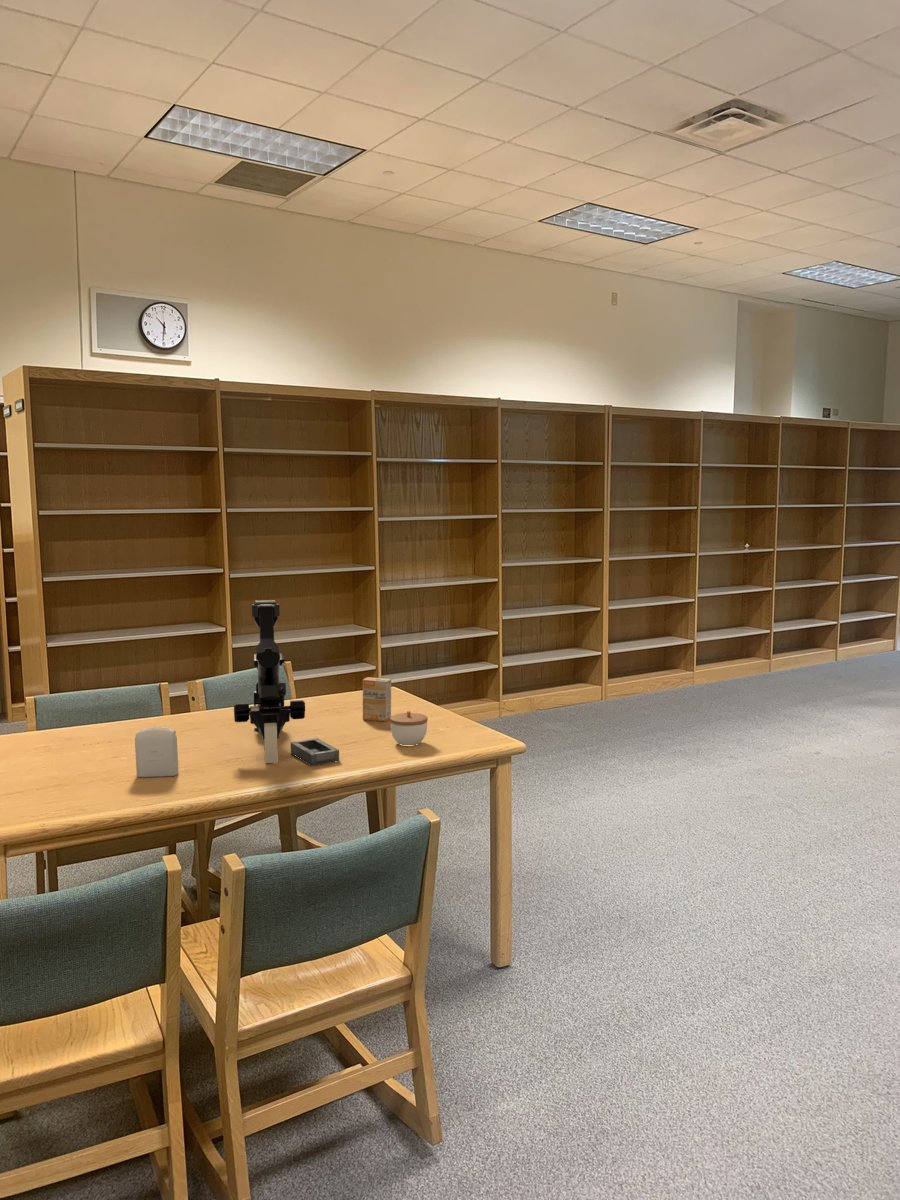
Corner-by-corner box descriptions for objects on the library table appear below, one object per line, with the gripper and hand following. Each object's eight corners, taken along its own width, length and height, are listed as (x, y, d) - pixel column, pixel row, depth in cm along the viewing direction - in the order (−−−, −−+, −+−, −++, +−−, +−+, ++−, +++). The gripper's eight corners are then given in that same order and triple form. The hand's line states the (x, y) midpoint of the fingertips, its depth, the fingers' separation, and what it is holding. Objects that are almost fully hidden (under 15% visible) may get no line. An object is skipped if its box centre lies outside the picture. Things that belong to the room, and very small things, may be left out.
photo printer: (134, 778, 216) (132, 730, 215) (138, 773, 221) (136, 725, 219) (176, 777, 217) (174, 729, 216) (180, 772, 222) (178, 724, 220)
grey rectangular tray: (290, 752, 238) (290, 742, 238) (317, 748, 243) (317, 738, 242) (311, 766, 227) (311, 754, 226) (339, 761, 231) (339, 750, 231)
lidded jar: (413, 736, 255) (413, 705, 254) (434, 744, 247) (434, 712, 246) (383, 742, 249) (382, 710, 248) (403, 751, 240) (403, 718, 239)
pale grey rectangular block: (264, 759, 232) (264, 723, 231) (277, 758, 233) (276, 722, 232) (265, 764, 228) (264, 727, 227) (277, 763, 229) (276, 726, 228)
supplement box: (362, 720, 274) (361, 679, 273) (367, 716, 279) (367, 676, 277) (386, 722, 272) (386, 681, 270) (391, 718, 276) (391, 678, 275)
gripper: (233, 673, 230) (233, 725, 220) (304, 671, 234) (307, 721, 224) (234, 696, 238) (234, 746, 229) (303, 693, 242) (306, 742, 233)
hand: (270, 738), depth 229 cm, fingers closed on pale grey rectangular block, 3 cm apart
